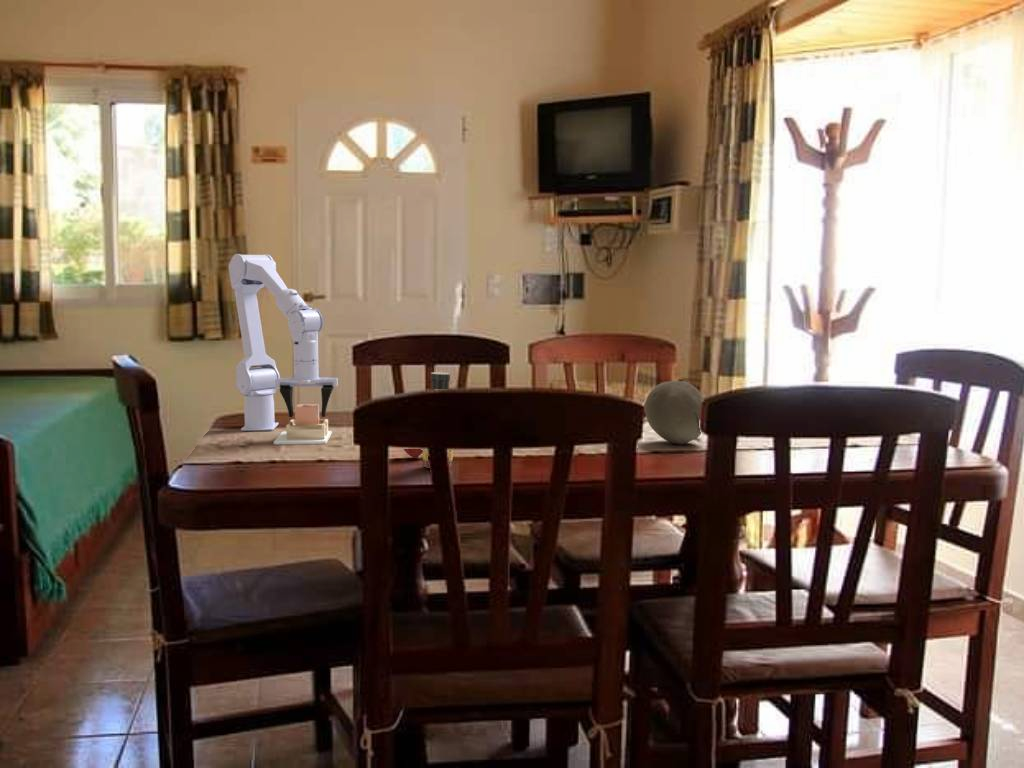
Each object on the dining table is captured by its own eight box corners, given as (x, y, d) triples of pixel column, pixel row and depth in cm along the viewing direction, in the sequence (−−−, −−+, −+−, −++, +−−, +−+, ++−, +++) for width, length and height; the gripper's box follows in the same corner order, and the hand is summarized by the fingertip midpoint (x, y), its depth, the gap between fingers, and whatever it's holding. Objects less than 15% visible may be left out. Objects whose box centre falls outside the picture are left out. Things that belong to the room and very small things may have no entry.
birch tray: (291, 433, 235) (291, 419, 235) (328, 432, 236) (328, 419, 235) (286, 439, 226) (286, 425, 226) (324, 439, 227) (324, 425, 227)
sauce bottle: (423, 471, 196) (423, 374, 193) (421, 465, 202) (421, 371, 199) (455, 470, 197) (455, 374, 194) (452, 464, 203) (452, 370, 200)
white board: (282, 433, 237) (282, 431, 237) (331, 433, 238) (331, 430, 238) (273, 444, 224) (273, 441, 223) (325, 443, 225) (325, 441, 224)
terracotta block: (298, 424, 233) (298, 403, 232) (319, 424, 233) (318, 403, 233) (295, 428, 228) (294, 406, 227) (316, 428, 228) (316, 406, 228)
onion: (426, 461, 206) (426, 424, 205) (399, 460, 206) (399, 424, 205) (429, 455, 211) (429, 420, 210) (403, 455, 212) (403, 419, 211)
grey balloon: (699, 438, 234) (701, 377, 232) (710, 449, 220) (712, 384, 218) (641, 438, 234) (642, 377, 232) (648, 449, 220) (649, 384, 218)
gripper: (272, 362, 224) (274, 419, 226) (335, 361, 225) (336, 418, 227) (277, 359, 231) (278, 414, 233) (338, 358, 232) (339, 414, 234)
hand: (307, 416), depth 230 cm, fingers open, 7 cm apart
